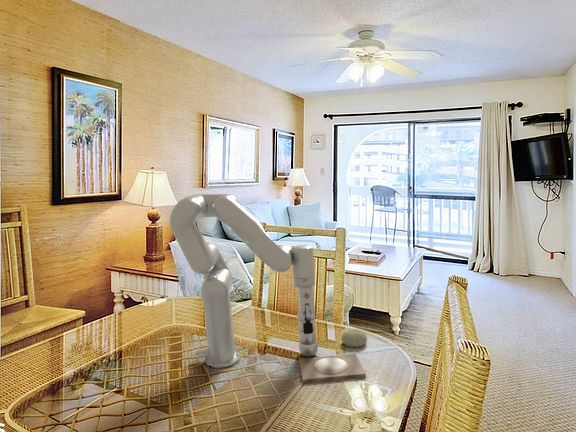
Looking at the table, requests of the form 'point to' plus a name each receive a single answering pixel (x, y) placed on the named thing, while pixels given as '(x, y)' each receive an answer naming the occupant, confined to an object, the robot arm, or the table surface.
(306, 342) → the plastic bottle
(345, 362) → the walnut board
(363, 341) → the sea urchin shell
